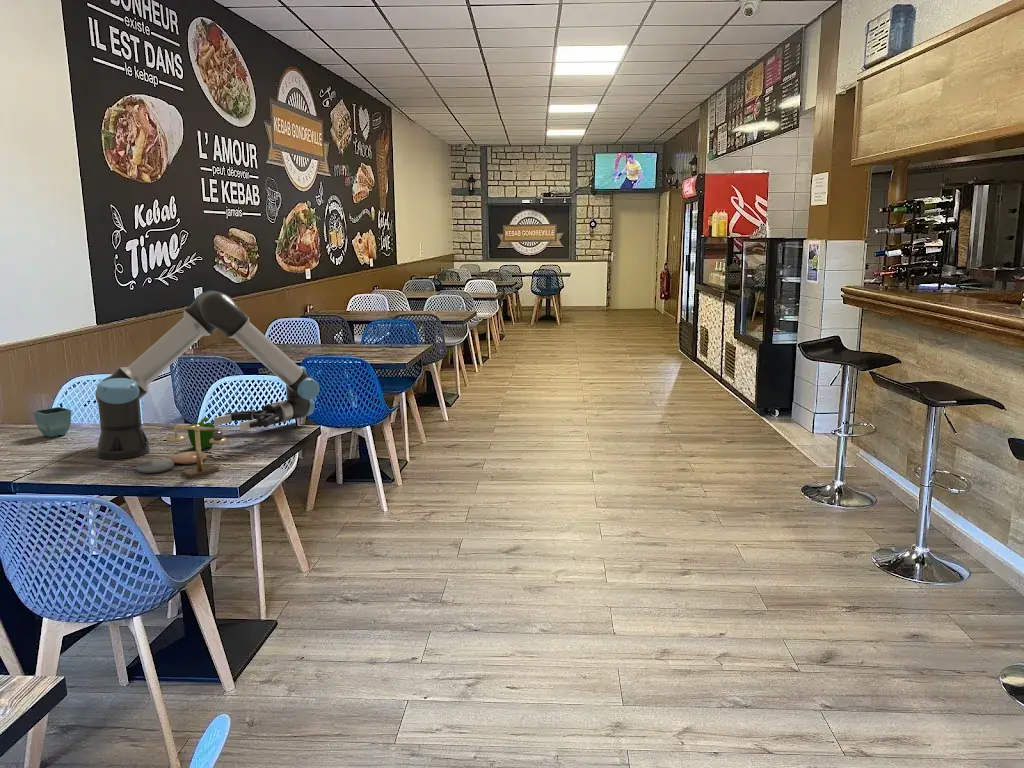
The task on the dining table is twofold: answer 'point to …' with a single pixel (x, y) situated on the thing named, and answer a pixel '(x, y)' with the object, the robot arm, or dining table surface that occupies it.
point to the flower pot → (53, 421)
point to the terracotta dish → (186, 457)
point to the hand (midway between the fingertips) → (227, 424)
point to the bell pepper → (202, 434)
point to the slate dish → (155, 466)
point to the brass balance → (198, 449)
